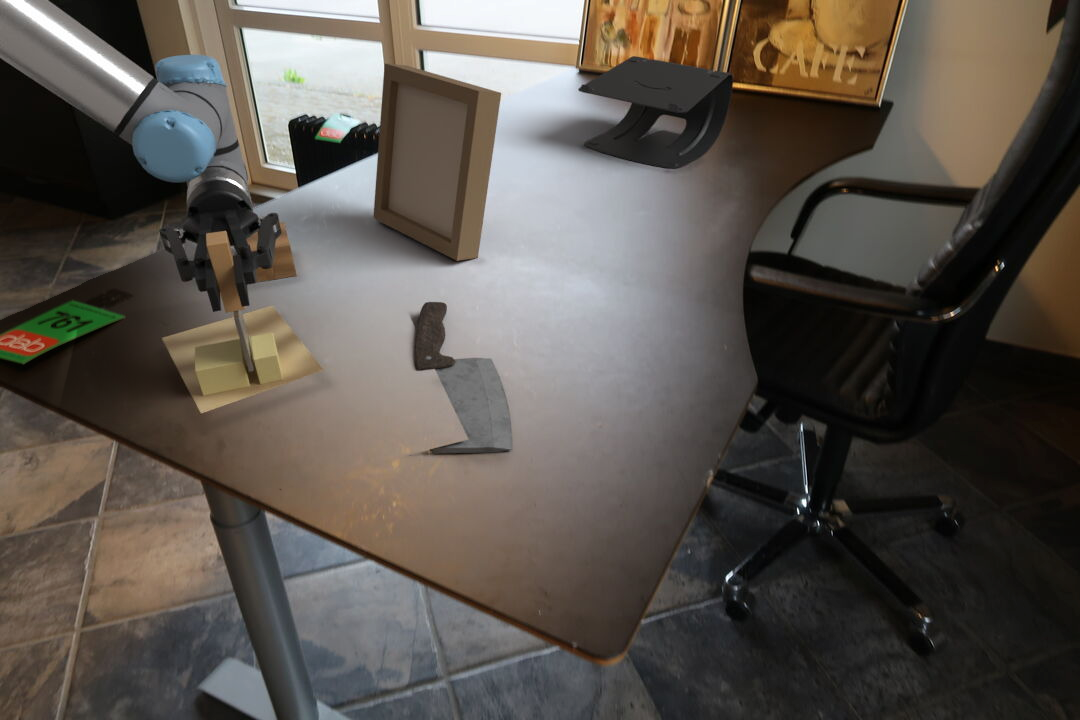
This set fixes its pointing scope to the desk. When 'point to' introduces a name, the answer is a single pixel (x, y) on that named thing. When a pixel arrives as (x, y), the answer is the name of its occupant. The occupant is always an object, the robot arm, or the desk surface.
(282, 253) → the knife block
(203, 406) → the board
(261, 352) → the block
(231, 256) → the knife
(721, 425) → the desk surface
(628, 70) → the laptop stand
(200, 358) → the butter
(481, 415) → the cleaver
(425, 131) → the photo frame
